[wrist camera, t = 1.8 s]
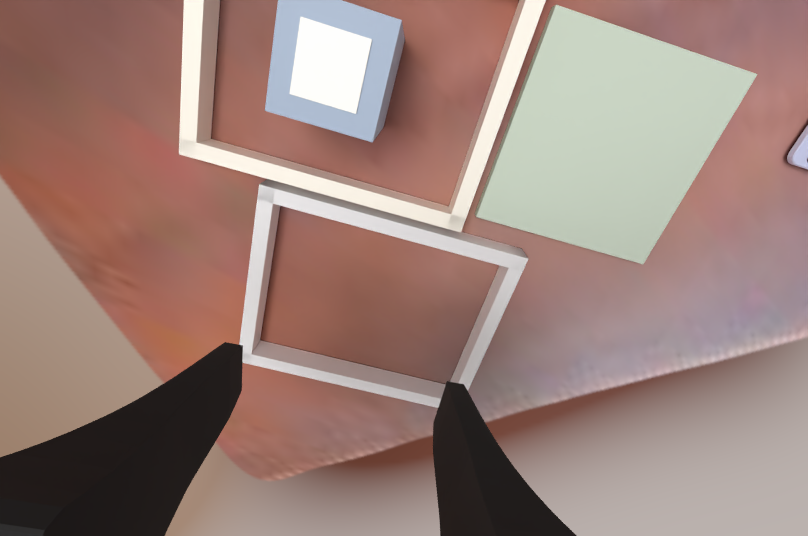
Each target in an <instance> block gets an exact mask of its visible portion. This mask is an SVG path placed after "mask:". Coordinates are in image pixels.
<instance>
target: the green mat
mask: <svg viewBox="0 0 808 536" xmlns="http://www.w3.org/2000/svg"><path fill="white" fill-rule="evenodd" d="M756 76H757V74H755V73H752V72H749V71H746V70H744V69H741V68H738V67H735V66H732V65H729V64H726V63H723V62H720V61H717V60H715V59H712V58H709V57H706V56H703V55H700V54H697V53H694V52H691V51H689V50H686V49H683V48H680V47H677V46H674V45H671V44H668V43H665V42H663V41H660V40H657V39H654V38H651V37H648V36H645V35H642V34H639V33H637V32H634V31H631V30H628V29H625V28H622V27H619V26H616V25H613V24H610V23H608V22H605V21H602V20H599V19H596V18H593V17H590V16H587V15H584V14H582V13H579V12H576V11H573V10H570V9H567V8H564V7H561V6H558V5H555V6H553V7H552V8H551V10H550V13H549V16H548V18H547V21H546V24H545V26H544V29H543V32H542V35H541V37H540V40H539V43H538V45H537V48H536V51H535V53H534V56H533V59H532V61H531V64H530V67H529V69H528V72H527V75H526V77H525V80H524V83H523V85H522V88H521V91H520V93H519V96H518V99H517V101H516V104H515V107H514V109H513V112H512V115H511V117H510V120H509V123H508V126H507V128H506V131H505V134H504V136H503V139H502V142H501V144H500V147H499V150H498V152H497V155H496V158H495V160H494V163H493V166H492V168H491V171H490V174H489V176H488V179H487V182H486V184H485V187H484V190H483V192H482V195H481V198H480V200H479V203H478V206H477V208H476V211H475V216H476V217H478V218H482V219H485V220H489V221H492V222H496V223H499V224H503V225H506V226H510V227H513V228H517V229H520V230H524V231H527V232H531V233H534V234H538V235H541V236H545V237H549V238H552V239H556V240H559V241H563V242H566V243H570V244H573V245H577V246H580V247H584V248H587V249H591V250H594V251H598V252H601V253H605V254H608V255H612V256H615V257H619V258H623V259H626V260H630V261H633V262H637V263H640V264H644V262H645V260H646V259H647V257H648V255H649V254H650V252H651V250H652V249H653V247H654V245H655V244H656V242H657V240H658V239H659V237H660V235H661V234H662V232H663V230H664V229H665V227H666V225H667V224H668V222H669V221H670V219H671V217H672V216H673V214H674V212H675V211H676V209H677V207H678V206H679V204H680V202H681V201H682V199H683V197H684V196H685V194H686V192H687V191H688V189H689V187H690V186H691V184H692V182H693V181H694V179H695V177H696V176H697V174H698V172H699V171H700V169H701V167H702V166H703V164H704V162H705V161H706V159H707V157H708V156H709V154H710V152H711V151H712V149H713V147H714V146H715V144H716V142H717V141H718V139H719V137H720V136H721V134H722V132H723V131H724V129H725V127H726V126H727V124H728V122H729V121H730V119H731V117H732V116H733V114H734V112H735V111H736V109H737V107H738V106H739V104H740V102H741V101H742V99H743V97H744V96H745V94H746V92H747V91H748V89H749V87H750V86H751V84H752V82H753V81H754V79H755V77H756Z"/></svg>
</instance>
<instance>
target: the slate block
mask: <svg viewBox="0 0 808 536" xmlns="http://www.w3.org/2000/svg"><path fill="white" fill-rule="evenodd" d="M404 42H405V37H404V31H403V25H402V20H400V19H397V18H393V17H390V16H387V15H384V14H381V13H378V12H375V11H372V10H369V9H366V8H363V7H360V6H357V5H354V4H351V3H348V2H345V1H342V0H278V6H277V15H276V23H275V31H274V39H273V48H272V56H271V64H270V73H269V81H268V89H267V97H266V106H265V111H268V112H271V113H275V114H278V115H281V116H285V117H288V118H292V119H295V120H298V121H302V122H305V123H308V124H312V125H315V126H319V127H322V128H325V129H329V130H332V131H336V132H339V133H342V134H346V135H349V136H353V137H356V138H359V139H363V140H366V141H369V142H373V141H374V140H375V138H376V137H377V136H378V134H379V133H380V131H381V130H382V129H383V127H384V123H385V119H386V115H387V111H388V107H389V103H390V99H391V95H392V91H393V87H394V83H395V79H396V75H397V71H398V67H399V62H400V58H401V54H402V50H403V46H404Z"/></svg>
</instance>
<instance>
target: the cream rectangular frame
mask: <svg viewBox="0 0 808 536" xmlns="http://www.w3.org/2000/svg"><path fill="white" fill-rule="evenodd" d="M545 1H546V0H519V2H518V5H517V8H516V11H515V14H514V17H513V20H512V23H511V26H510V29H509V32H508V35H507V38H506V40H505V43H504V46H503V49H502V52H501V55H500V58H499V61H498V64H497V67H496V70H495V73H494V76H493V79H492V81H491V84H490V87H489V90H488V93H487V96H486V99H485V102H484V105H483V108H482V111H481V114H480V117H479V120H478V122H477V125H476V128H475V131H474V134H473V137H472V140H471V143H470V146H469V149H468V152H467V155H466V158H465V161H464V163H463V166H462V169H461V172H460V175H459V178H458V181H457V184H456V187H455V190H454V193H453V196H452V199H451V202H450V204H449V206H446V205H442V204H439V203H435V202H432V201H428V200H425V199H421V198H418V197H414V196H411V195H407V194H404V193H400V192H397V191H393V190H390V189H386V188H382V187H379V186H375V185H372V184H368V183H365V182H361V181H358V180H354V179H351V178H347V177H344V176H340V175H337V174H333V173H330V172H326V171H323V170H319V169H316V168H312V167H309V166H305V165H302V164H298V163H295V162H291V161H288V160H284V159H281V158H277V157H274V156H270V155H266V154H263V153H259V152H256V151H252V150H249V149H245V148H242V147H238V146H235V145H231V144H228V143H224V142H221V141H217V140H214V139H211V130H212V115H213V100H214V85H215V70H216V55H217V40H218V25H219V10H220V0H184V19H183V49H182V79H181V108H180V138H179V154H180V155H184V156H188V157H191V158H195V159H198V160H202V161H205V162H209V163H213V164H216V165H220V166H223V167H227V168H231V169H234V170H238V171H241V172H245V173H249V174H252V175H256V176H259V177H263V178H267V179H270V180H274V181H277V182H281V183H284V184H288V185H292V186H295V187H299V188H302V189H306V190H310V191H313V192H317V193H320V194H324V195H328V196H331V197H335V198H338V199H342V200H345V201H349V202H353V203H356V204H360V205H363V206H367V207H371V208H374V209H378V210H381V211H385V212H389V213H392V214H396V215H399V216H403V217H407V218H410V219H414V220H417V221H421V222H424V223H428V224H432V225H435V226H439V227H442V228H446V229H450V230H453V231H457V232H460V233H461V231H462V228H463V225H464V222H465V220H466V217H467V214H468V212H469V209H470V206H471V203H472V201H473V198H474V195H475V192H476V190H477V187H478V184H479V181H480V179H481V176H482V173H483V171H484V168H485V165H486V162H487V160H488V157H489V154H490V151H491V149H492V146H493V143H494V140H495V138H496V135H497V132H498V129H499V127H500V124H501V121H502V119H503V116H504V113H505V110H506V108H507V105H508V102H509V99H510V97H511V94H512V91H513V88H514V86H515V83H516V80H517V78H518V75H519V72H520V69H521V67H522V64H523V61H524V58H525V56H526V53H527V50H528V47H529V45H530V42H531V39H532V37H533V34H534V31H535V28H536V26H537V23H538V20H539V17H540V15H541V12H542V9H543V6H544V4H545Z"/></svg>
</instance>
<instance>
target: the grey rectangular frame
mask: <svg viewBox="0 0 808 536" xmlns="http://www.w3.org/2000/svg"><path fill="white" fill-rule="evenodd" d="M280 206H284V207H287V208H291V209H295V210H298V211H302V212H306V213H309V214H313V215H317V216H320V217H324V218H328V219H331V220H335V221H339V222H342V223H346V224H350V225H353V226H357V227H361V228H364V229H368V230H372V231H375V232H379V233H383V234H386V235H390V236H394V237H397V238H401V239H405V240H408V241H412V242H416V243H419V244H423V245H427V246H430V247H434V248H438V249H441V250H445V251H449V252H452V253H456V254H460V255H463V256H467V257H471V258H474V259H478V260H482V261H485V262H489V263H493V264H496V265H500V266H499V268H498V270H497V273H496V275H495V277H494V280H493V282H492V284H491V287H490V289H489V292H488V294H487V296H486V299H485V301H484V303H483V306H482V308H481V310H480V313H479V315H478V317H477V320H476V322H475V324H474V327H473V329H472V331H471V334H470V336H469V338H468V341H467V343H466V345H465V348H464V350H463V352H462V355H461V357H460V359H459V362H458V364H457V366H456V369H455V371H454V373H453V376H452V378H451V380H450V382H454V383H460V384H464V386H465V387H466V389H467V391H468V390H469V387H470V385H471V383H472V381H473V379H474V376H475V374H476V372H477V370H478V368H479V366H480V363H481V361H482V359H483V357H484V355H485V352H486V350H487V348H488V346H489V344H490V342H491V339H492V337H493V335H494V333H495V331H496V328H497V326H498V324H499V322H500V320H501V318H502V315H503V313H504V311H505V309H506V307H507V305H508V302H509V300H510V298H511V296H512V294H513V291H514V289H515V287H516V285H517V283H518V281H519V278H520V276H521V274H522V272H523V270H524V267H525V265H526V263H527V261H528V257H527V256H526V254H525V253H524V251H523V250H522V248H518V247H515V246H511V245H507V244H504V243H500V242H497V241H493V240H490V239H486V238H482V237H479V236H475V235H472V234H468V233H464V232H461V233H460V232H457V231H453V230H450V229H446V228H442V227H439V226H435V225H432V224H428V223H424V222H421V221H417V220H414V219H410V218H407V217H403V216H399V215H396V214H392V213H389V212H385V211H381V210H378V209H374V208H371V207H367V206H363V205H360V204H356V203H353V202H349V201H345V200H342V199H338V198H335V197H331V196H328V195H324V194H320V193H317V192H313V191H310V190H306V189H302V188H299V187H295V186H292V185H288V184H284V183H281V182H277V181H274V180H270V179H267V180H265V181H264V182H262V183H261V184H259V190H258V198H257V206H256V214H255V223H254V231H253V239H252V247H251V255H250V263H249V271H248V279H247V287H246V295H245V304H244V312H243V320H242V328H241V336H240V344H239V345H243V359H242V363H247V364H251V365H255V366H260V367H264V368H268V369H272V370H277V371H281V372H285V373H290V374H294V375H298V376H303V377H307V378H311V379H316V380H320V381H324V382H329V383H333V384H337V385H341V386H346V387H350V388H354V389H359V390H363V391H367V392H372V393H376V394H380V395H385V396H389V397H393V398H397V399H402V400H406V401H410V402H415V403H419V404H423V405H428V406H432V407H436V408H438V407H439V404H440V401H441V398H442V395H443V392H444V389H445V386H446V384H442V383H438V382H433V381H429V380H425V379H421V378H417V377H412V376H408V375H404V374H400V373H396V372H391V371H387V370H383V369H379V368H375V367H370V366H366V365H362V364H358V363H354V362H350V361H345V360H341V359H337V358H333V357H329V356H324V355H320V354H316V353H312V352H308V351H303V350H299V349H295V348H291V347H287V346H282V345H278V344H274V343H270V342H266V341H261V340H260V338H261V331H262V324H263V318H264V311H265V304H266V298H267V291H268V285H269V278H270V271H271V265H272V258H273V251H274V245H275V238H276V231H277V225H278V218H279V211H280Z"/></svg>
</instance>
